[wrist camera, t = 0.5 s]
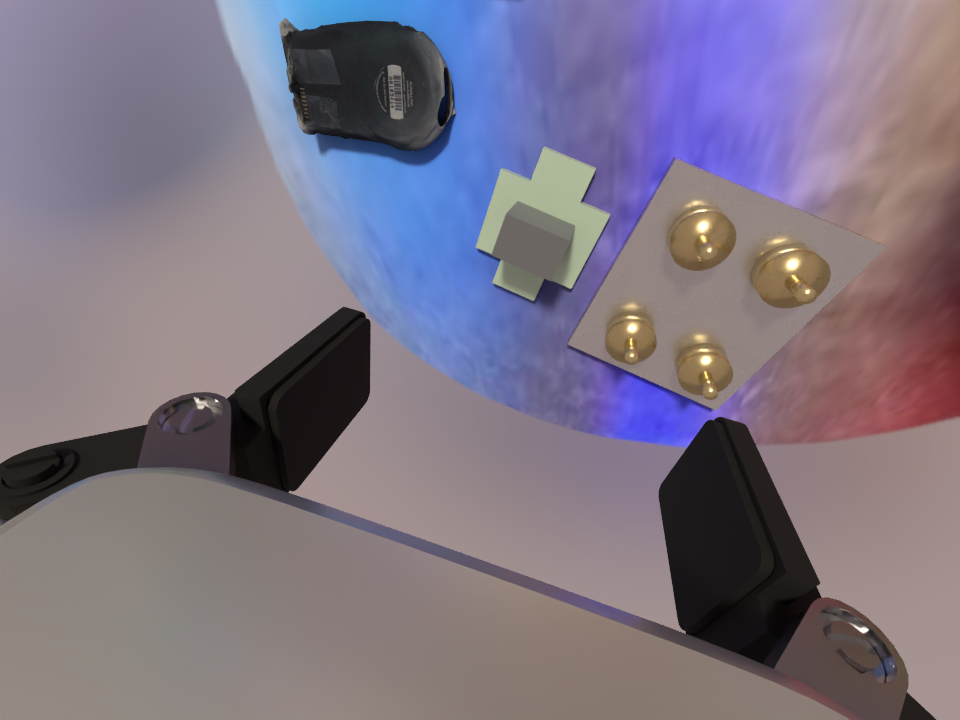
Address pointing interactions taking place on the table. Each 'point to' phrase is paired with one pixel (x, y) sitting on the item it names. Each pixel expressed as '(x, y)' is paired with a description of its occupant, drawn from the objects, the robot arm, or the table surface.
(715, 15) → the table surface
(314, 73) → the electronic device
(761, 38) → the table surface
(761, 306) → the chassis
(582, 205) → the board
